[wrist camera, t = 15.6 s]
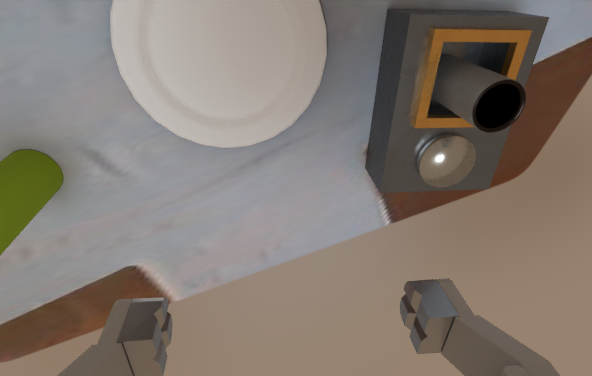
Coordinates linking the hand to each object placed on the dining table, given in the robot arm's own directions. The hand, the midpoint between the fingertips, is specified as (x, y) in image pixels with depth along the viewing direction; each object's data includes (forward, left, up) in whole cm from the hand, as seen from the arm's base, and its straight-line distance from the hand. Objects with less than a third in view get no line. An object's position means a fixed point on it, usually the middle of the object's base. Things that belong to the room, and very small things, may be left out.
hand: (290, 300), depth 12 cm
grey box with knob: (+2, +19, -30) cm, 36 cm away
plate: (-3, -4, -31) cm, 31 cm away
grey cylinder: (-1, +19, -29) cm, 34 cm away
